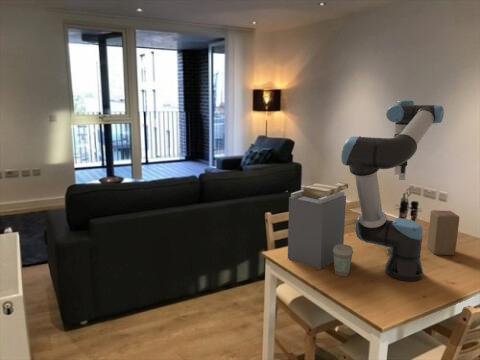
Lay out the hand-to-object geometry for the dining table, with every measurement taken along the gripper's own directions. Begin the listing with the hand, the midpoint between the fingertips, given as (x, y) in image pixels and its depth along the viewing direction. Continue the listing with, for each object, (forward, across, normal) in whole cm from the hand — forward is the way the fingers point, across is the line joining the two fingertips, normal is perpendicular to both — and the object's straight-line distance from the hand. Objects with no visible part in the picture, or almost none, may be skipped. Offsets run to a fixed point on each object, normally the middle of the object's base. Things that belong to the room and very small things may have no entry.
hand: (399, 177), depth 186 cm
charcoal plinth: (+37, -21, +38) cm, 57 cm away
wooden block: (+37, 0, -22) cm, 43 cm away
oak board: (+7, -11, +32) cm, 35 cm away
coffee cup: (+37, -36, +26) cm, 58 cm away
